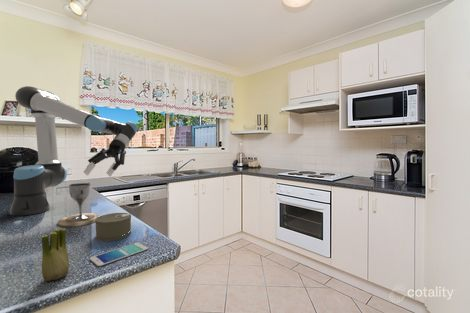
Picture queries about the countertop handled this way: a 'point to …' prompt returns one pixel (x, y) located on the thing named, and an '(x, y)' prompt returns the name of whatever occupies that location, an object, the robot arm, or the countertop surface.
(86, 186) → the wine glass
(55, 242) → the fennel bulb
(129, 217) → the can
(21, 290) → the countertop surface
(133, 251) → the smartphone
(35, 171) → the robot arm
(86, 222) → the trivet
